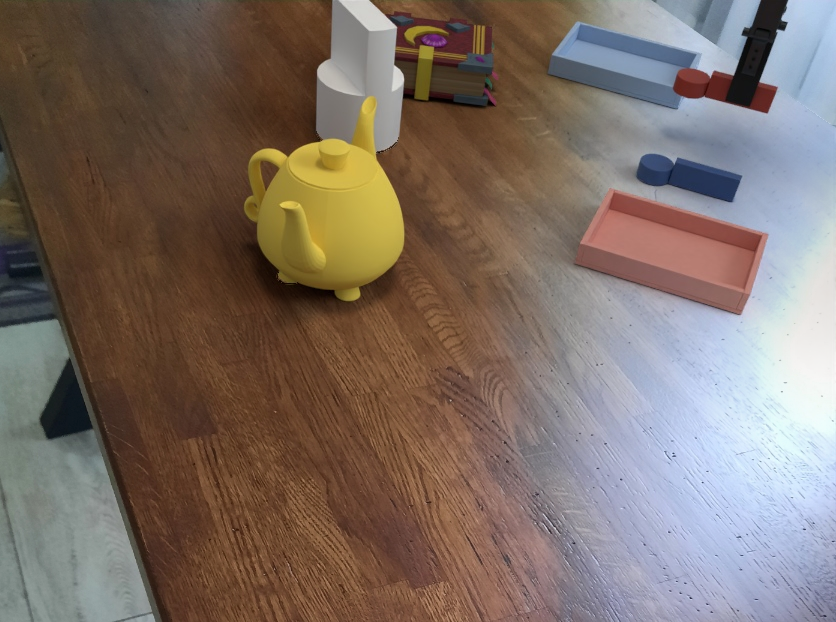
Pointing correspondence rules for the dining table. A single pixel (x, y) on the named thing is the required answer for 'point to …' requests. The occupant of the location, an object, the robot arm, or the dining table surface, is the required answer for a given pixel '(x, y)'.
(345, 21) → the base with upright slab
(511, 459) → the dining table surface
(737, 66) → the robot arm
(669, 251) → the pink tray
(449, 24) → the decorative book
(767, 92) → the red spoon
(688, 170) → the blue spoon
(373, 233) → the teapot
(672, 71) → the blue tray
